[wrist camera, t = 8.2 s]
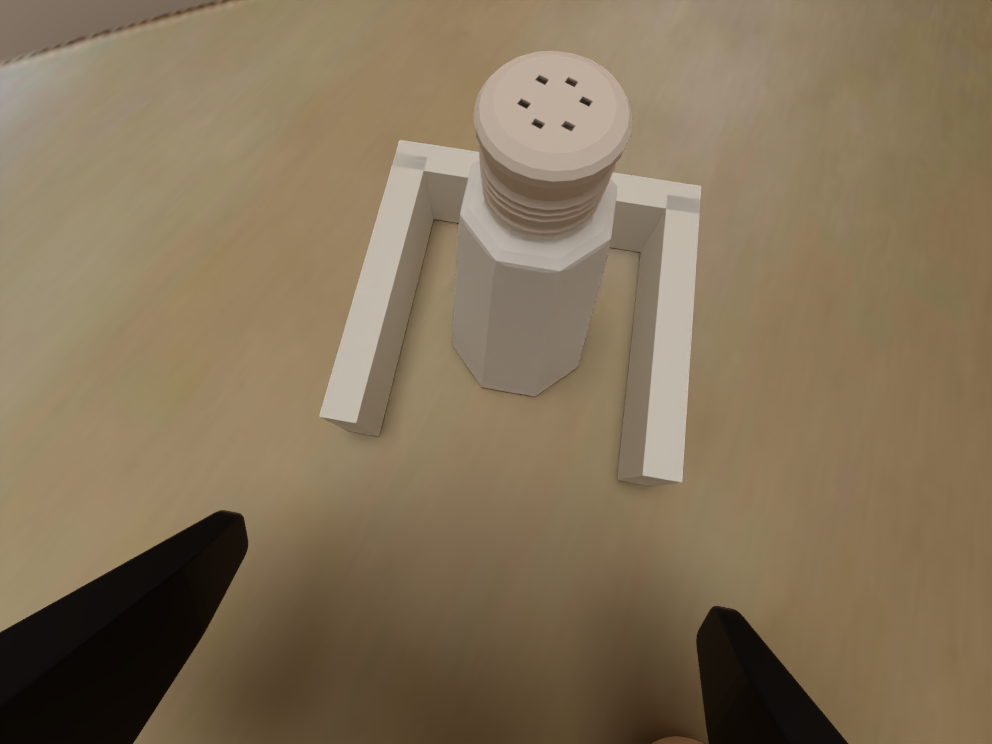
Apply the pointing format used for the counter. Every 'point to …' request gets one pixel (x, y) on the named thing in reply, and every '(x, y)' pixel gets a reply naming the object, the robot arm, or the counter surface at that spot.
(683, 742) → the ball
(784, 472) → the counter surface
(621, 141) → the pepper shaker
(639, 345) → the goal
